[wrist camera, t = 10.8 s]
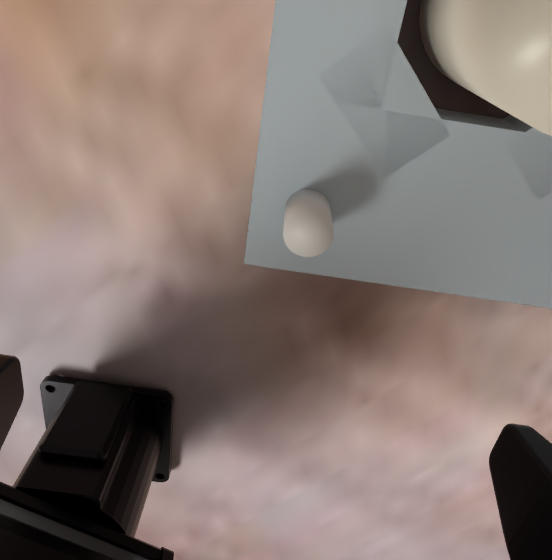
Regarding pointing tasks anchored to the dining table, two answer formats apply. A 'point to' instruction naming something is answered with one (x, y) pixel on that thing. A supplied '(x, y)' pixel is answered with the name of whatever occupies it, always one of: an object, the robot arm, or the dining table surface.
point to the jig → (391, 168)
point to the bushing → (495, 52)
